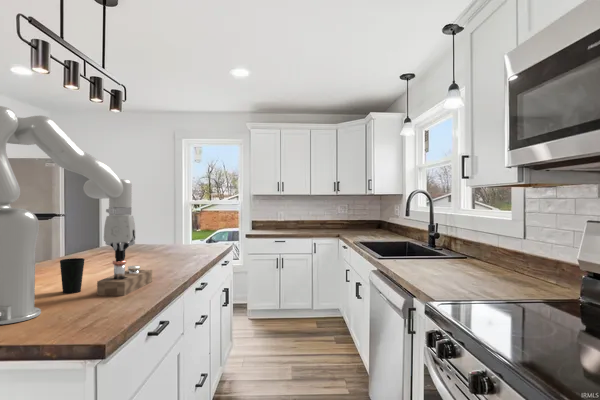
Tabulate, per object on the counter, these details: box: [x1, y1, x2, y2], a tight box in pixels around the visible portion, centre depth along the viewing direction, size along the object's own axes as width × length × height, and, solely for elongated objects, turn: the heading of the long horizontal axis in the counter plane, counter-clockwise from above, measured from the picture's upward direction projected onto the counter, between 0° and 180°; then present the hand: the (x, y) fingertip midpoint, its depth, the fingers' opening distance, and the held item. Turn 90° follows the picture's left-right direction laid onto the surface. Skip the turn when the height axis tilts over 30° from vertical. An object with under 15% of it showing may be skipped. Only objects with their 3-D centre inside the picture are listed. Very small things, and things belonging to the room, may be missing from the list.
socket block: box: [96, 269, 153, 297], centre depth 135 cm, size 22×10×5 cm, turn 179°
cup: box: [59, 257, 86, 295], centre depth 128 cm, size 8×8×12 cm
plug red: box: [112, 259, 127, 280], centre depth 130 cm, size 5×5×7 cm
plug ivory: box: [127, 265, 141, 274], centre depth 141 cm, size 5×5×7 cm
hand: (120, 260), depth 130 cm, fingers closed
